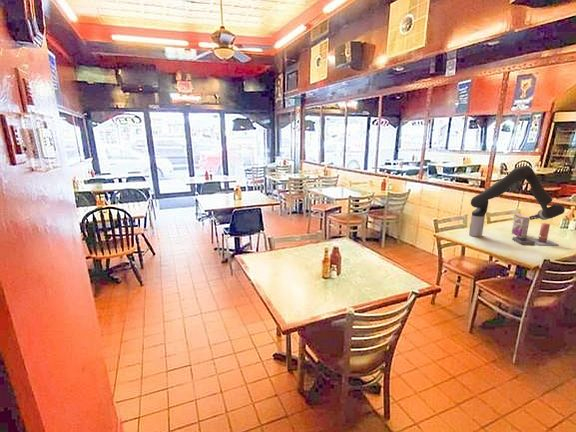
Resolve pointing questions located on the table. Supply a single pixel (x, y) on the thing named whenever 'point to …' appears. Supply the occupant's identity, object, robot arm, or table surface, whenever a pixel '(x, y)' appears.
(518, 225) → the candy bar box
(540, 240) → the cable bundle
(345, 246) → the table surface
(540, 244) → the slate mat
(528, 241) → the tie collar
